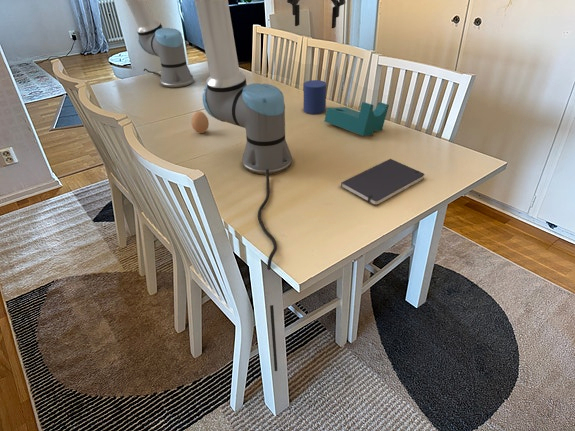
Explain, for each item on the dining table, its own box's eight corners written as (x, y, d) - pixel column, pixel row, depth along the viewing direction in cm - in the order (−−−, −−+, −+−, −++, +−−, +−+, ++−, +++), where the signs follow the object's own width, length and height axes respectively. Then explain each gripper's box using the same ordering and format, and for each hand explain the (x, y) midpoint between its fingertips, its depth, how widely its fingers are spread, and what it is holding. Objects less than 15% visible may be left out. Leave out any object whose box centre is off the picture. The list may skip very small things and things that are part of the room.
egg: (195, 137, 143) (191, 115, 138) (191, 131, 147) (187, 110, 142) (211, 134, 144) (208, 112, 140) (207, 127, 149) (204, 107, 144)
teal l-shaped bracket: (380, 134, 144) (388, 104, 140) (363, 135, 137) (370, 104, 132) (342, 120, 155) (349, 92, 151) (324, 121, 148) (330, 92, 143)
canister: (317, 104, 166) (318, 78, 160) (329, 111, 160) (330, 84, 154) (299, 109, 163) (299, 82, 156) (311, 115, 156) (311, 88, 150)
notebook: (389, 163, 124) (340, 187, 113) (390, 158, 123) (341, 182, 112) (424, 178, 116) (375, 206, 105) (425, 174, 115) (376, 201, 104)
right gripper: (357, -46, 130) (352, 26, 142) (285, -46, 137) (286, 22, 150) (351, -45, 124) (346, 30, 136) (276, -45, 132) (278, 26, 144)
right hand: (315, 26), depth 143 cm, fingers open, 13 cm apart
